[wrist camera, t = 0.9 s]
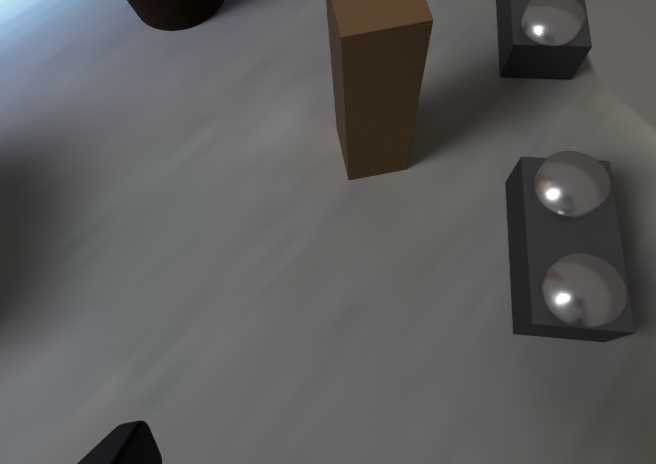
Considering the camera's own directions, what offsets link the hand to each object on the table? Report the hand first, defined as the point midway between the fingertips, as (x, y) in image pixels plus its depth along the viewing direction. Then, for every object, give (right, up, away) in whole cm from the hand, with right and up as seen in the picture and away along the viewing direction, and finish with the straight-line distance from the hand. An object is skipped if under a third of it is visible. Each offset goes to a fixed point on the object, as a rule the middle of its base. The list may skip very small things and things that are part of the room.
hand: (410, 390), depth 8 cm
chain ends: (+10, +8, +17) cm, 22 cm away
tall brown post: (+1, +7, +18) cm, 19 cm away
